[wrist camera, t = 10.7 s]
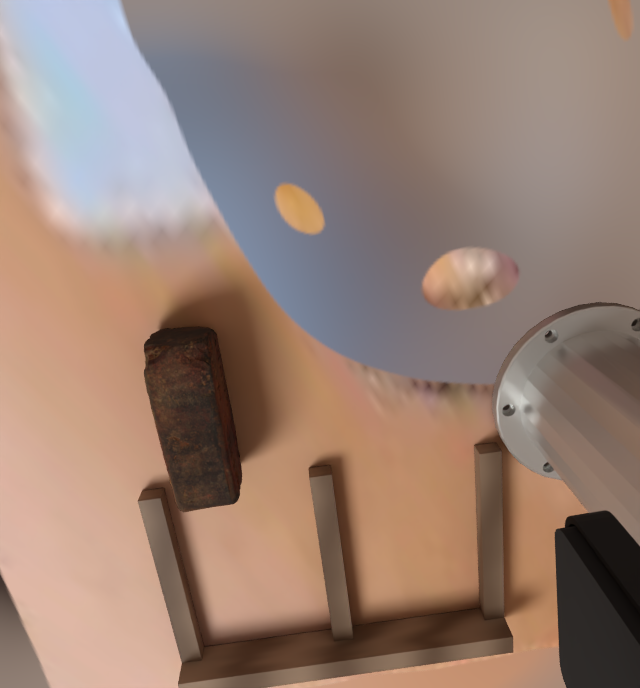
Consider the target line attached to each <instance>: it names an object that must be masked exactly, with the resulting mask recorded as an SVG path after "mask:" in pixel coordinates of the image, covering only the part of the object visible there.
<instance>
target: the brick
mask: <svg viewBox="0 0 640 688" xmlns="http://www.w3.org/2000/svg"><path fill="white" fill-rule="evenodd" d="M144 353H145V357H146V362H145V363H146V368H145V370H144V377H145V383H146V388H147V393H148V396H149V399H150V404H151V409H152V413H153V416H154V420H155V424H156V428H157V432H158V436H159V440H160V444H161V448H162V451H163V456H164V460H165V463H166V466H167V471H168V474H169V478H170V480H169V481H170V484H171V486H172V490H173V494H174V498H175V503H176V504H177V507H178V508H179V509H180V511H183V512H188V511H193V510H199V509H204V508H210V507H216V506H223V505H230V504H234V503H236V502H237V500H238V498H239V496H240V485H241V483H242V470H241V463H240V459H239V458H240V454H239V451H238V444H237V438H236V431H235V425H234V421H233V416H232V409H231V405H230V400H229V395H228V390H227V385H226V380H225V375H224V370H223V365H222V359H221V354H220V350H219V345H218V340H217V335H216V333H215V332H214V331H213V330H212V329H210V328H204V327H186V328H174V329H169V328H167V329H162V330H159V331H157V332H156V333H153V334H151V336H150V339H148V340H147V341H146V342H145V344H144Z"/></svg>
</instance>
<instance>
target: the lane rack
mask: <svg viewBox="0 0 640 688" xmlns="http://www.w3.org/2000/svg"><path fill="white" fill-rule="evenodd" d="M474 454H475V484H476V513H477V543H478V573H479V602H480V608H478V609H471V610H464V611H457V612H449V613H442V614H435V615H428V616H421V617H414V618H407V619H400V620H393V621H386V622H378V623H371V624H364V625H357V626H352V623H351V616H350V608H349V601H348V593H347V586H346V578H345V571H344V563H343V556H342V548H341V541H340V533H339V526H338V518H337V511H336V503H335V496H334V488H333V481H332V473H331V466H330V465H327V466H320V467H313V468H309V478H310V485H311V492H312V499H313V505H314V512H315V519H316V525H317V532H318V539H319V545H320V552H321V559H322V566H323V572H324V579H325V586H326V592H327V599H328V606H329V612H330V619H331V626H332V629H329V630H322V631H315V632H307V633H300V634H293V635H286V636H279V637H272V638H265V639H258V640H251V641H244V642H237V643H229V644H222V645H215V646H208V647H204V645H203V641H202V637H201V633H200V629H199V625H198V622H197V618H196V614H195V610H194V606H193V602H192V598H191V594H190V590H189V586H188V582H187V578H186V574H185V570H184V566H183V562H182V558H181V554H180V550H179V546H178V542H177V538H176V534H175V530H174V526H173V523H172V519H171V515H170V511H169V507H168V503H167V499H166V495H165V491H164V488H160V489H152V490H145V491H142V492H141V495H140V497H139V500H138V504H139V507H140V511H141V515H142V518H143V522H144V526H145V529H146V533H147V537H148V540H149V544H150V548H151V551H152V555H153V559H154V562H155V566H156V570H157V573H158V577H159V581H160V584H161V588H162V592H163V595H164V599H165V603H166V606H167V610H168V614H169V617H170V621H171V625H172V628H173V632H174V636H175V639H176V643H177V647H178V650H179V654H180V657H181V661H182V666H181V671H180V676H179V682H178V686H179V688H266V687H273V686H280V685H287V684H294V683H301V682H308V681H315V680H322V679H329V678H336V677H344V676H351V675H358V674H365V673H372V672H379V671H386V670H393V669H400V668H407V667H414V666H421V665H428V664H435V663H442V662H449V661H456V660H463V659H470V658H477V657H484V656H491V655H498V654H506V653H513V636H512V634H511V631H510V629H509V627H508V625H507V622H506V620H505V618H504V564H503V498H502V451H501V449H500V448H499V446H498V445H497V444H496V442H495V443H487V444H480V445H474Z"/></svg>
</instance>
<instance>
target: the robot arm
mask: <svg viewBox="0 0 640 688" xmlns="http://www.w3.org/2000/svg"><path fill="white" fill-rule="evenodd" d="M548 331H549V333H548V334H547V335H545V334H546V333H547V332H548ZM505 405H506V407H504V406H505ZM492 411H493V417H494V422H495V426H496V429H497V431H498V433H499V436H500V438H501V440H502V441H503V443H504V444H505V446H506V447H507V449H508V450H509V452H510V453H511V454H512V455H513V456H514V457H515V458H516V459H517V460H518V461H519V462H520V463H521V464H522V465H524V466H525V467H527V468H528V469H530V470H531V471H533V472H535V473H537V474H540V475H542V476H544V477H548V478H553V479H558V480H563V481H564V482H565V484H566V485H567V486H568V487H569V489H570V490H571V491H572V492H573V494H574V495H575V496H576V497H577V499H578V500H579V501H580V502H581V504H582V505H583V506H584V507H585V509H586V510H587V511H588V512H589V513H586V514H580V515H574V516H569V517H567V519H566V521H565V528H560V529H557V530H556V532H555V553H556V579H557V605H558V631H559V656H560V667H561V672H562V676H563V679H564V682H565V685H566V687H567V688H640V311H639V310H637V309H635V308H632V307H629V306H625V305H621V304H617V303H601V302H600V303H599V302H598V303H590V304H583V305H578V306H574V307H571V308H568V309H565V310H562V311H560V312H558V313H556V314H554V315H552V316H550V317H548V318H546V319H544V320H543V321H541V322H540V323H539V324H537V325H536V326H534V327H533V328H532V329H530V330H529V331H528V332H527V333H526V334H525V335H524V336H523V337H522V338H521V339H520V340H519V341H518V342H517V343H516V344H515V346H514V347H513V349H512V350H511V351H510V353H509V354H508V356H507V357H506V359H505V360H504V362H503V364H502V366H501V369H500V371H499V373H498V375H497V378H496V382H495V386H494V390H493V401H492Z"/></svg>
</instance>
